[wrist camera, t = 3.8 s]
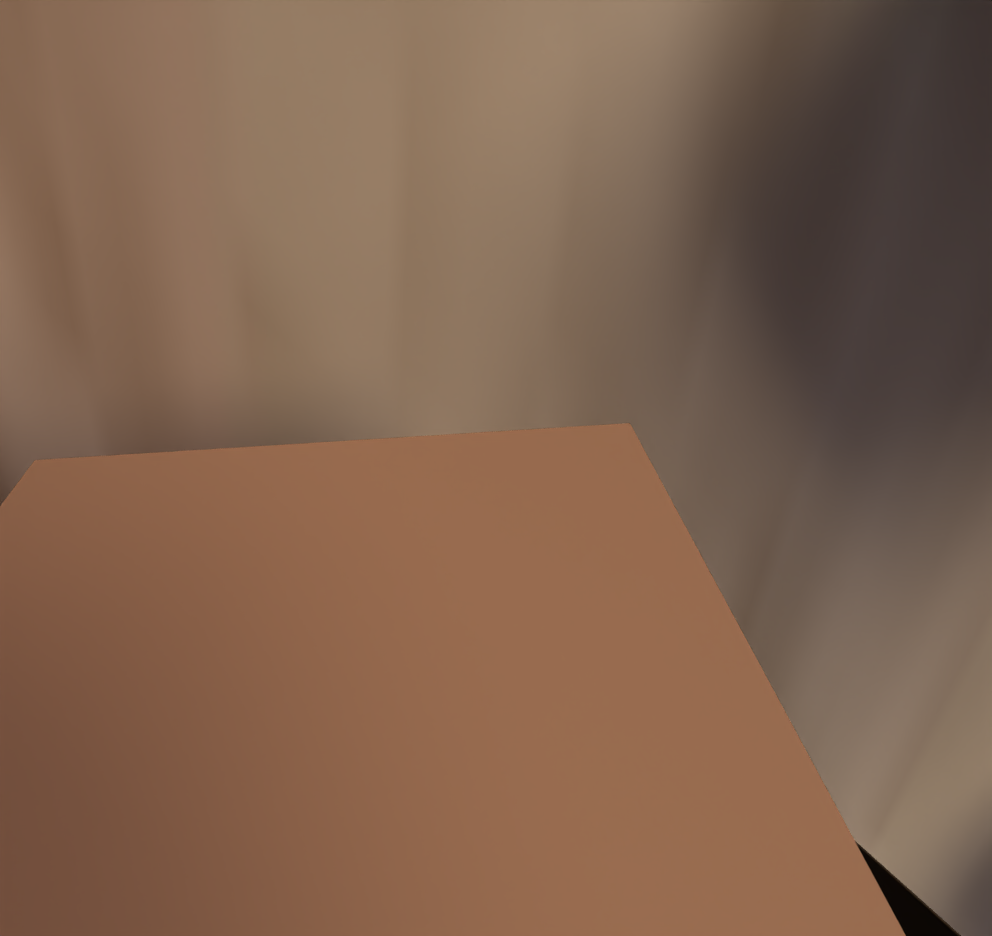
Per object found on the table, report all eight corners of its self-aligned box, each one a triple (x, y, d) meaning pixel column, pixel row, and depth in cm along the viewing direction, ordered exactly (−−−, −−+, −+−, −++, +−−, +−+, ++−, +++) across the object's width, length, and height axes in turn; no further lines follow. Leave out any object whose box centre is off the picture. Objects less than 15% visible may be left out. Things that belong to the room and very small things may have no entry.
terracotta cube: (630, 423, 8) (936, 995, 3) (606, 817, 10) (767, 1448, 6) (34, 460, 7) (-496, 1165, 3) (157, 861, 10) (-34, 1573, 5)
